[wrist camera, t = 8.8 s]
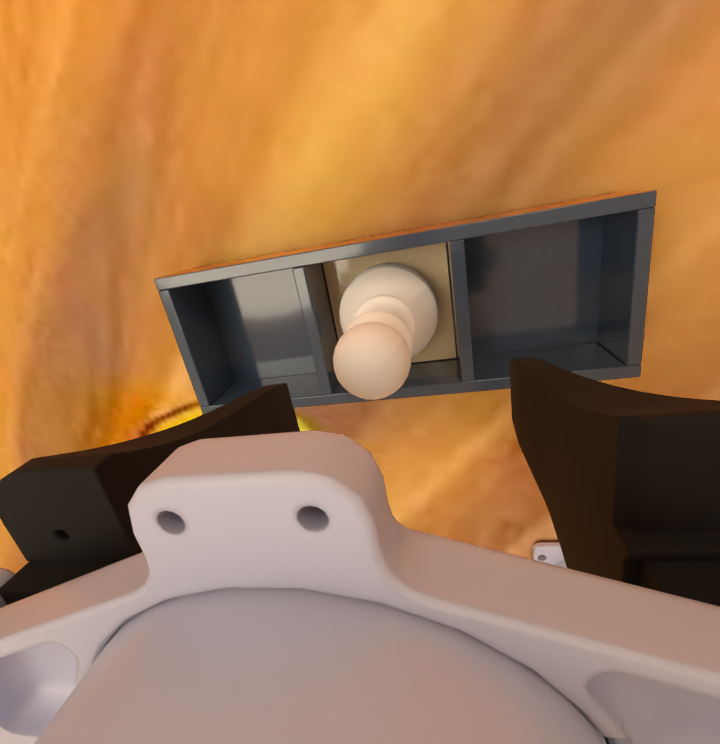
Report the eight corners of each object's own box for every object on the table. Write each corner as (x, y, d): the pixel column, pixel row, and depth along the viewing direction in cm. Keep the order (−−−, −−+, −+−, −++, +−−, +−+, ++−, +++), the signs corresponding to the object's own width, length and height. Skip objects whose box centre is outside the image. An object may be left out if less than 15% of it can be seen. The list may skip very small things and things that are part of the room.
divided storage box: (606, 349, 21) (640, 377, 18) (232, 388, 26) (203, 416, 22) (614, 192, 18) (657, 189, 15) (193, 267, 23) (153, 279, 19)
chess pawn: (383, 369, 23) (358, 463, 15) (325, 302, 22) (264, 361, 14) (457, 317, 21) (475, 390, 13) (397, 240, 20) (376, 266, 12)
